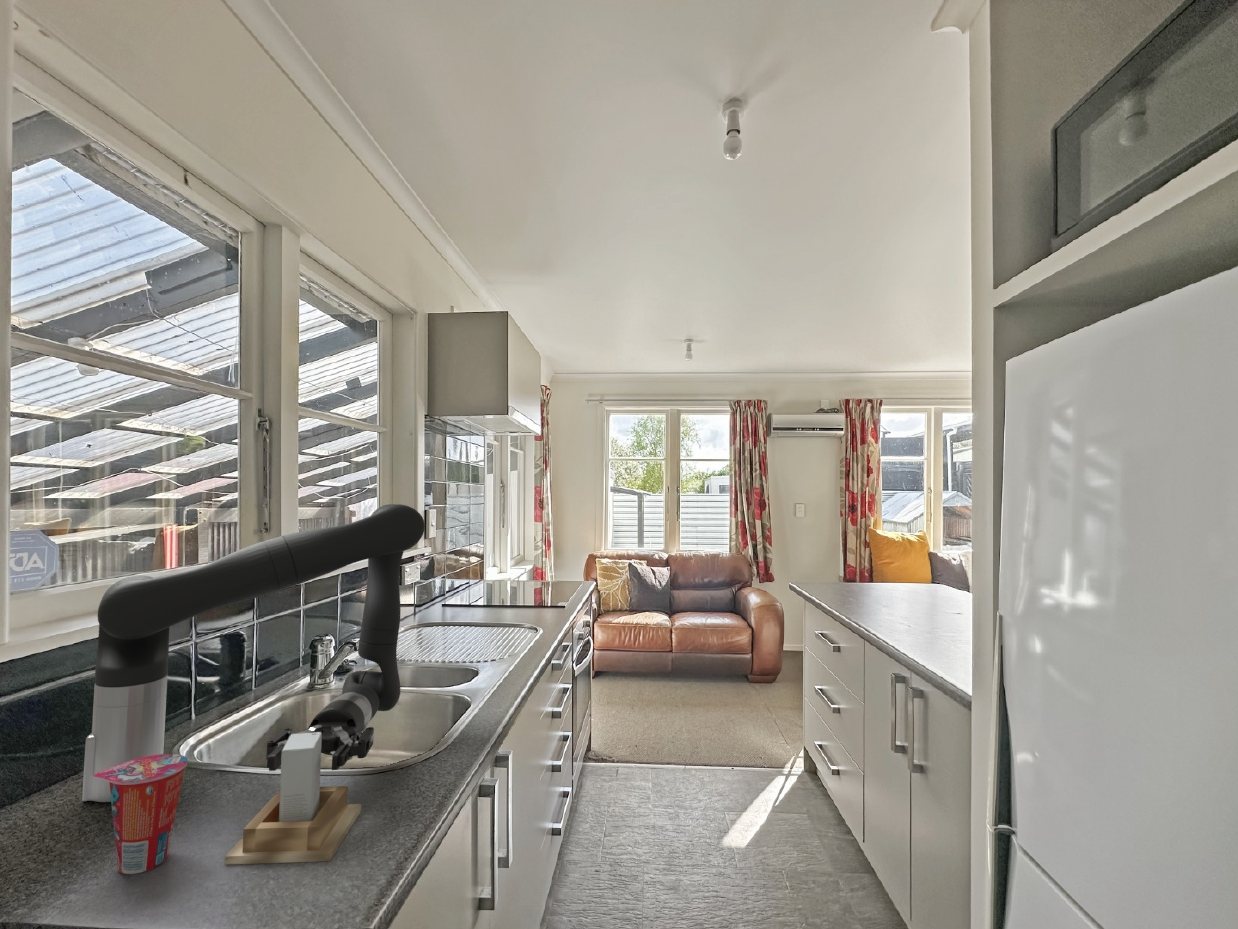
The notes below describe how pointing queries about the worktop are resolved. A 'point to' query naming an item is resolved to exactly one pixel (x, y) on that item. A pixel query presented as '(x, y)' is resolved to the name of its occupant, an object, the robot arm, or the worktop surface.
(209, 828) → the worktop surface
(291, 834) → the socket holder
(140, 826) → the cup
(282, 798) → the skincare box
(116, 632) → the robot arm
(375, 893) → the worktop surface
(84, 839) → the worktop surface
